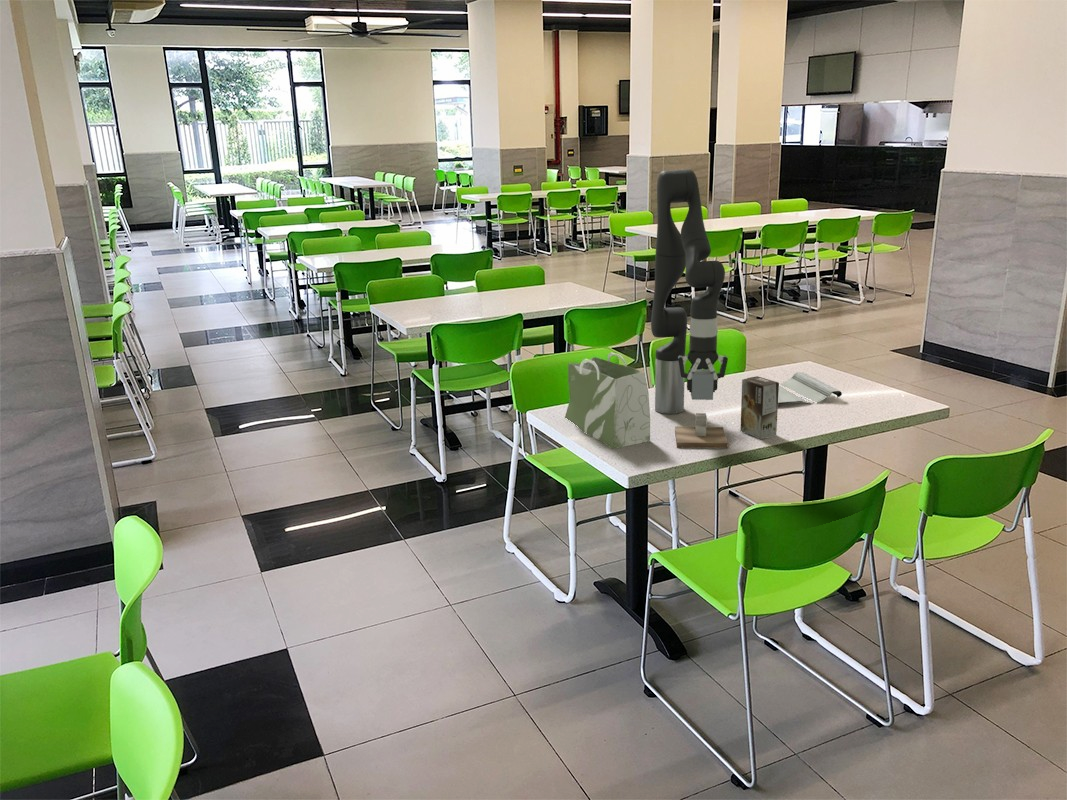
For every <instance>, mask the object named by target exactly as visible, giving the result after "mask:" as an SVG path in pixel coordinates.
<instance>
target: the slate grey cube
mask: <svg viewBox="0 0 1067 800" xmlns="http://www.w3.org/2000/svg"><path fill="white" fill-rule="evenodd" d="M713 384H714V374H713V373H711V372H710V369H708V370H705V369H700V370H697V369H696V371H695V373H692V392H690V396H691V400H693V401H697V400H698V401H702V400H703V401H709V400H710V401H712V400H713V401H714V392H713Z"/></svg>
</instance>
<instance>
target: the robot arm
mask: <svg viewBox="0 0 1067 800" xmlns="http://www.w3.org/2000/svg"><path fill="white" fill-rule="evenodd" d="M698 182H699V181H698V178H697V175H696V173H695V172H694V171H693V169H669V170H662V171H661V172H659V174H658V177H657V182H656V183H657V184H656V211H657V212H656V215H657V216H656V217H657V221H656V222H657V227H656V229H657V230H656V243H655V255H654V256H655V259H654V290H653V291H654V292H653V299H652V310H651V321H650V329H651V334H652V336H654V338H660V339H661V338H673V339H672V340H671V341H670V342H668V343H666V344H665V345H662V346H659V347H658V348H656V349H655V366H654V367H655V370H654V371H655V374H654V375H655V381H654V384H655V386H654V387H655V388H654V389H655V391H654V395H655V396H654V410H655V411H656V412H658V413H661V414H670V415H671V414H679V413H682V412H684V410H685V382H686V390H687V391H689V393H691V392H692V373H695V371H696V369H697V370H700V369H705V370H708V369H710V372H711V373H713V374H714V384H713V393H716V392H715V391H717V390H718V384H719V383H718V381H719V379H721V378H725V376H726V375H725V374H726V370H727V365H728V362H729V361H728V360H729V359H728V356H727V355H725V354H724V355H720V354H718V353H717V351H718V348H717V347H718V332H719V331H718V301H719V299H720V298H719V297H720V294H721V290H722V287H723V285H724V281H725V277H726V269H725V267H724V265H723V262H721V261H719V260H705V259H707V258H709V256H710V255H711V251H712V248H711V244H710V242H709V241H710V240H709V238H708V234H707V231H706V228H705V223H704V217H703V209H702V201H701V195H700V194H701V193H700V187H699V183H698ZM678 203H679V204H681V203H687V205H688V206H687V207H688V211H687V213H686V217H685V219H684V221H683V222H682V225H681V228H680V231H679V229H678V227H677V226H676V224H675V221H674V220H673V216H672V210H671V208H672V207H671V204H678ZM684 272H685V275H684V277H685V282H686V283H687V285H689V287H691V288H696V289H697V288H699V289H700V288H707V289H706V290H705V292H704V293H702V294H699V295H695V296H694V297H692V299H691V301H690V303H691V304H690V305H691V307H690V321H689V346H688V354H686V346H687V345H686V344H687V331H688V314H687V311H686V309H685V308H684V307H665V306H666V302H667V299H668V297H669V295H670V294H671V291H672V289H674V288H675V286H676V284H677V283H678V282H679V280H680V278H681V277H682V276H683V274H684ZM687 360H688V361H689V362H690V364H691V365H690V367H689V370H688V371H687V372H686V362H687ZM717 361H718V362H719V363H720V368H719V372H716V370H715V368H714V365H715V363H716V362H717ZM685 379H686V381H685Z"/></svg>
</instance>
